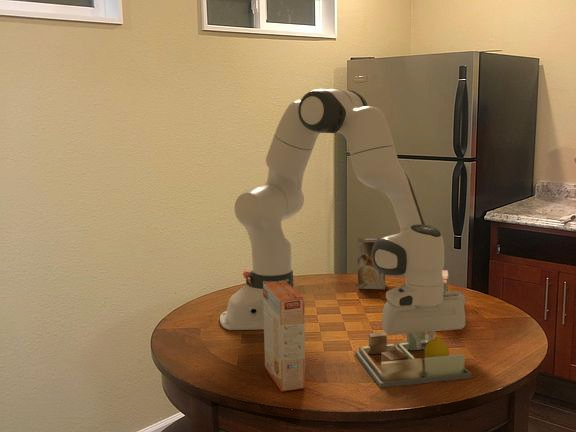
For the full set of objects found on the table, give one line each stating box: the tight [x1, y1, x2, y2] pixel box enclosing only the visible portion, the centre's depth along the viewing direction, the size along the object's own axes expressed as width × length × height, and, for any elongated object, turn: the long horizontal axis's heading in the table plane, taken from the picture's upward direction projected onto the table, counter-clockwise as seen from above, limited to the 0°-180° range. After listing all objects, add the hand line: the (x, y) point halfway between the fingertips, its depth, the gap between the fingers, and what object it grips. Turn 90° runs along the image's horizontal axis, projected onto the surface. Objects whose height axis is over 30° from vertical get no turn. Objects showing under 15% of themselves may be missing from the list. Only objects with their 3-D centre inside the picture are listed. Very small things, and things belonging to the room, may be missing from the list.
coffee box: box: [356, 237, 386, 290], centre depth 210 cm, size 9×6×16 cm
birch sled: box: [358, 332, 423, 382], centre depth 148 cm, size 9×18×4 cm, turn 11°
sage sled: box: [397, 332, 465, 378], centre depth 150 cm, size 9×18×4 cm, turn 11°
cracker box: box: [263, 281, 306, 393], centre depth 141 cm, size 14×6×21 cm, turn 17°
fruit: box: [424, 336, 450, 358], centre depth 145 cm, size 6×6×8 cm
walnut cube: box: [380, 350, 408, 363], centre depth 145 cm, size 4×4×4 cm
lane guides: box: [354, 350, 473, 388], centre depth 148 cm, size 21×19×1 cm
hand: (423, 348), depth 153 cm, fingers closed
